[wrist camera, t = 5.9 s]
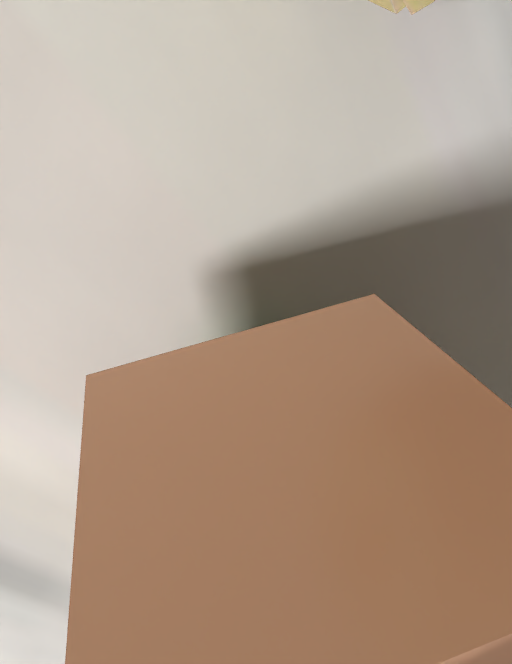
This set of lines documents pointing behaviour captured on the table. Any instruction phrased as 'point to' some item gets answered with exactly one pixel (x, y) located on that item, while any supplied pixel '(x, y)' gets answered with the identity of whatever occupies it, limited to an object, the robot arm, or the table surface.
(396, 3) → the scroll
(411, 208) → the table surface
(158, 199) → the table surface
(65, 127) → the table surface
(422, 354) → the pink paneled box
